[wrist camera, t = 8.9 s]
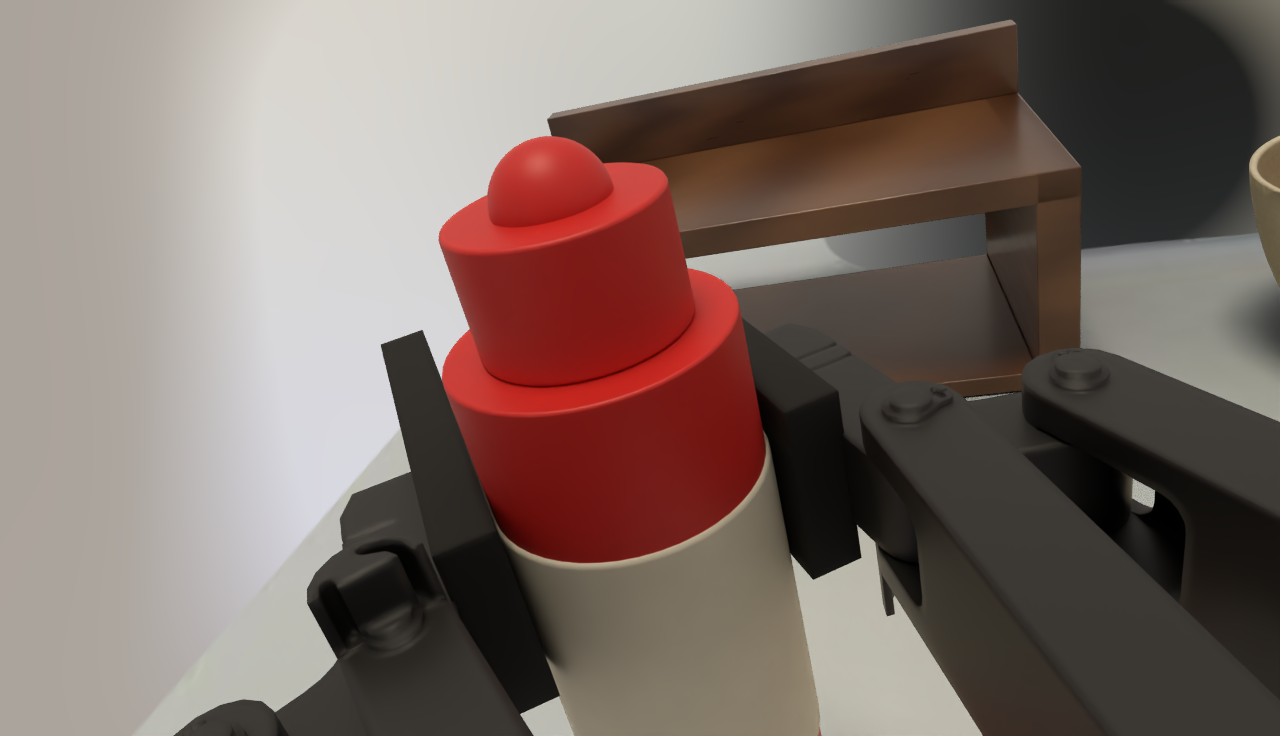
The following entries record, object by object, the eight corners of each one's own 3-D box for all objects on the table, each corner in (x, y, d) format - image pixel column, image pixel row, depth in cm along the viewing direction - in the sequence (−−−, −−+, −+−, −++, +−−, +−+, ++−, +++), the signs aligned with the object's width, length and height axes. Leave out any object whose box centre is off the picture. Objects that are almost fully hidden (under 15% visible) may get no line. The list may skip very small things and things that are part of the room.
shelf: (559, 439, 40) (477, 190, 35) (609, 319, 50) (552, 113, 45) (1080, 385, 35) (1082, 79, 29) (1018, 263, 45) (1011, 19, 39)
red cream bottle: (594, 913, 14) (298, 231, 8) (635, 711, 17) (439, 125, 11) (839, 924, 13) (683, 163, 7) (833, 708, 16) (719, 68, 10)
